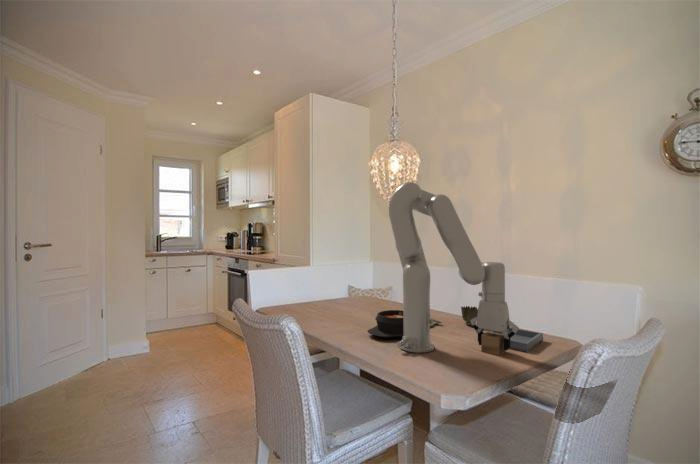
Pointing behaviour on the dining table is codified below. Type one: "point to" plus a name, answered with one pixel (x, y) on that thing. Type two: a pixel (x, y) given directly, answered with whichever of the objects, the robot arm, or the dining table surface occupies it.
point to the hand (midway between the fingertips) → (493, 346)
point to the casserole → (388, 324)
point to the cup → (469, 314)
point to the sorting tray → (524, 339)
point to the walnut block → (492, 343)
